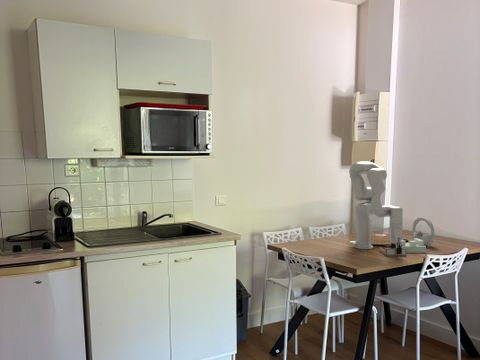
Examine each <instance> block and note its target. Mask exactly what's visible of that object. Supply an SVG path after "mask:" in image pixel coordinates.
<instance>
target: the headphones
mask: <svg viewBox="0 0 480 360" xmlns="http://www.w3.org/2000/svg"><path fill="white" fill-rule="evenodd" d="M421 221H424V222H425V223H426V224H427V226H428V227H429V229H430V232H431V233H430V232H425V233H424V232H423V231H422V230H417V229H416V226H417V225H418V224H419V223H420V222H421ZM411 228H412V233H413V234H412V240H414V238H418V239H420V240H423V241H424V244H423V245H424V246H426V248H430V247H431V245H433V244H434V238H435V228H434V224H433V223H432V221H431V220H430V219H428V218H427V217H424V216H422V217H418V218H416V219H414V221H413V224H412V227H411ZM416 230H417V231H416Z"/></svg>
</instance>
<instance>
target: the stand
mask: <svg viewBox="0 0 480 360" xmlns="http://www.w3.org/2000/svg"><path fill="white" fill-rule="evenodd" d="M423 244H424V241H423V240H420V239H418V238H414V239H413V240H409V242H406V240H405V239H403V238H402V248H406V254H409V253H411V254H413V253H415V254H416V253H419V254H420V253H426V251H427V246H424V245H423ZM396 248H397V245H396Z"/></svg>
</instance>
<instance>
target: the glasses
mask: <svg viewBox="0 0 480 360" xmlns="http://www.w3.org/2000/svg"><path fill="white" fill-rule="evenodd" d="M378 249H379V252H380V253H382V254H383V255H385V256H388V257H389V256H393V257H394V256H395V257H397V256H399V257H400V256H401V257H402V256H407V253H406V248H402V254H396V248H391V247H385V248H382V247H379V248H378Z"/></svg>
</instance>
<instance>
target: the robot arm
mask: <svg viewBox="0 0 480 360" xmlns="http://www.w3.org/2000/svg"><path fill="white" fill-rule="evenodd" d="M348 173H349V177H350V180H351V183H352V189H353V195H354V198H355V199H356V200H357V201H359V203H358V204H357V205H356V206H355V209H354V210H355V211H354V212H355V215H356V216H355V217H356V239H355V240H354V241H349V245H354V246H353V247H354V248H356V249H360V250H372V249H374V246H373V245H372V243H371V240H372V239H371V237H372V236H371V235H372V233H371V232H372V222H371V218H370V216H376V217H377V218H388V217H389V229H390V230H389V242H390V248H396V245H397V248H396V254H402V239H403V225H404V224H403V221H404V220H403V215H404V214H403V212H404V211H403V207H401V206H396V205H395V206H393V205H390V204H386V205H382V204H383V203H382V202H381V197H382V196H381V195H382V194H383V193H384V192H386V187H385V184H384V180H386V179H387V176H388V174H387V171H386V170H385V169H384V168H383V167H381V166H380V165H377V163H374V162H371V161H358V162H354V163H352V164H351V166H350V168H349V172H348ZM362 175H366V177H367V180H368V182H369V186H366V183H365V180H364V178H363V176H362Z"/></svg>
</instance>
